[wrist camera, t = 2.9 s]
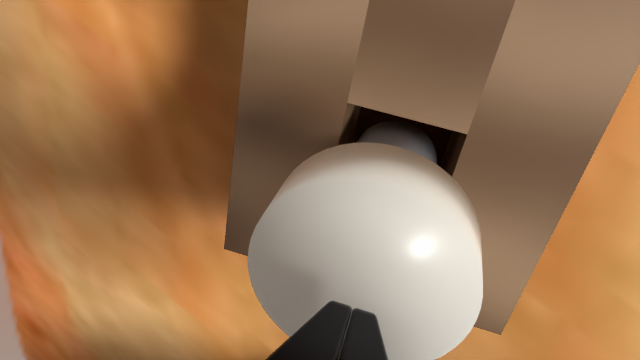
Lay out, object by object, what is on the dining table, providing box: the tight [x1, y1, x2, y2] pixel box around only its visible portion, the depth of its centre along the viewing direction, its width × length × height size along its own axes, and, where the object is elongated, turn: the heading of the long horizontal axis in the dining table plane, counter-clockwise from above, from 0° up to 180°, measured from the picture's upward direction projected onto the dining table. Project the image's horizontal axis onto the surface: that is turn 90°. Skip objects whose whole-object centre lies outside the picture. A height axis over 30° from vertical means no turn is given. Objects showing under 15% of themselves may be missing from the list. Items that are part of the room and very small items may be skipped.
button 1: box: [248, 121, 483, 360], centre depth 12 cm, size 5×5×6 cm
